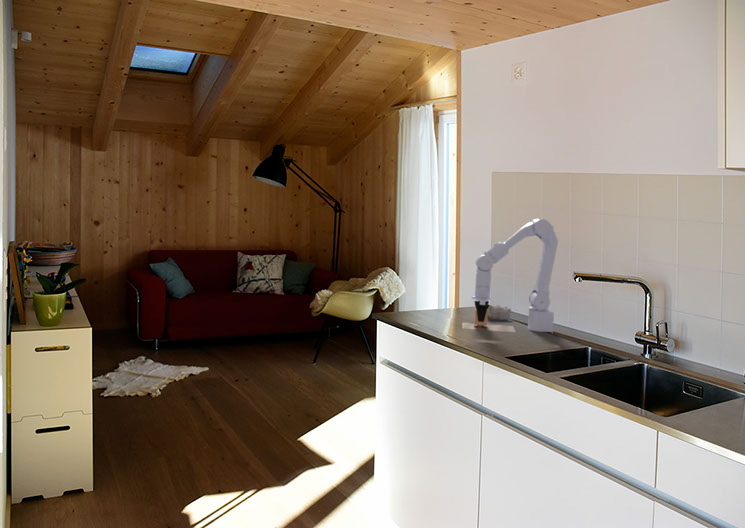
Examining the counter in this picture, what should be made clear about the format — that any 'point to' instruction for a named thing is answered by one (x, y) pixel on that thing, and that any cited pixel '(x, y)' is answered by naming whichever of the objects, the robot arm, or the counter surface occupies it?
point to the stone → (498, 312)
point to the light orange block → (477, 319)
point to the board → (488, 327)
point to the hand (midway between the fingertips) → (480, 320)
